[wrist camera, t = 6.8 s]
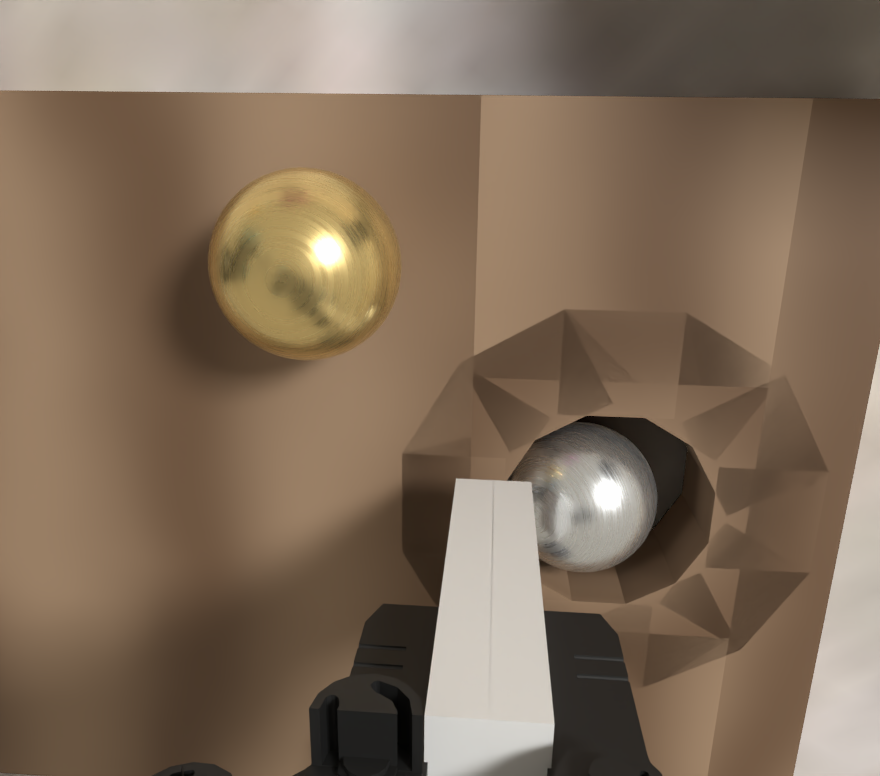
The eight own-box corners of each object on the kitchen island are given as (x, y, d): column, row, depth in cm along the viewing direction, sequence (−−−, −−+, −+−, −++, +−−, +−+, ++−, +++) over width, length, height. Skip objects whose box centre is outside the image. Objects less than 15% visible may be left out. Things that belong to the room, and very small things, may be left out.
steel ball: (560, 520, 20) (473, 562, 17) (567, 397, 19) (477, 423, 17) (677, 565, 17) (595, 620, 15) (692, 427, 17) (607, 462, 14)
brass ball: (250, 333, 16) (185, 380, 12) (239, 164, 15) (165, 167, 11) (411, 338, 15) (388, 388, 12) (412, 166, 14) (386, 171, 11)
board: (0, 702, 22) (-59, 767, 20) (-123, 97, 17) (-223, 88, 15) (749, 753, 21) (782, 830, 18) (863, 107, 16) (928, 99, 13)
